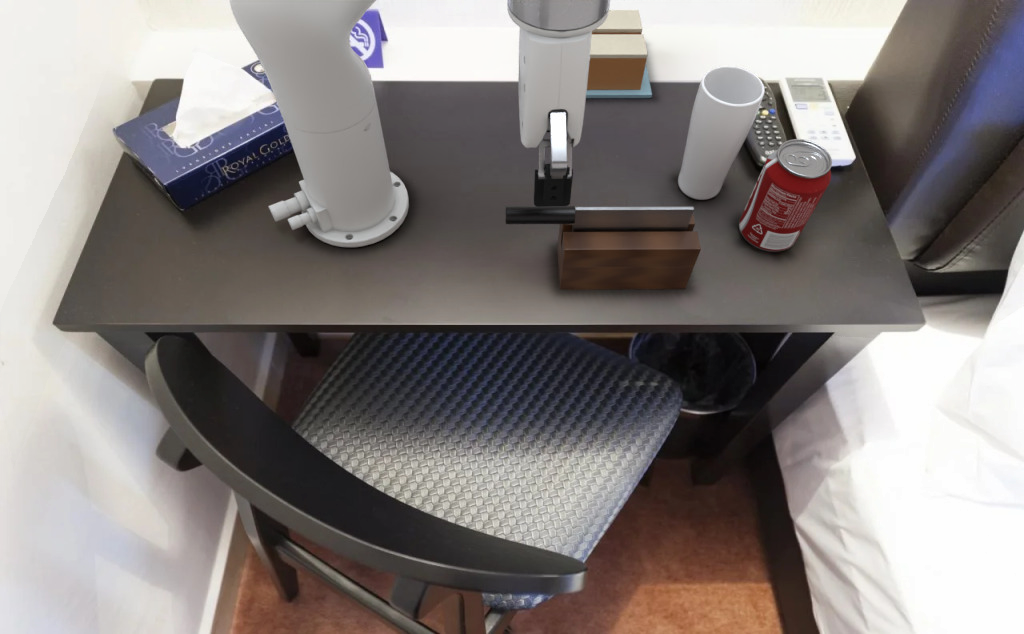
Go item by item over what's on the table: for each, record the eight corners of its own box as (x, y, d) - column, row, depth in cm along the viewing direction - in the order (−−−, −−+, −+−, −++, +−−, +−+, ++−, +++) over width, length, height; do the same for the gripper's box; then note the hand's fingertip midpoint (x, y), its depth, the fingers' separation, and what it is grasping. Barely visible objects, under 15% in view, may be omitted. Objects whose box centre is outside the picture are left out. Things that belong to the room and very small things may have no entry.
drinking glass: (668, 200, 81) (698, 100, 69) (673, 162, 85) (703, 60, 72) (724, 211, 80) (764, 110, 68) (727, 172, 84) (767, 70, 71)
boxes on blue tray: (564, 98, 91) (568, 59, 86) (559, 45, 98) (563, 5, 93) (651, 98, 92) (660, 59, 86) (640, 45, 98) (648, 5, 93)
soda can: (796, 260, 76) (840, 185, 66) (736, 250, 77) (771, 175, 67) (794, 216, 80) (836, 139, 70) (737, 207, 81) (771, 130, 71)
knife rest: (559, 289, 74) (564, 249, 68) (557, 249, 77) (561, 207, 71) (685, 289, 74) (701, 249, 68) (677, 248, 77) (691, 206, 71)
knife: (679, 239, 73) (692, 201, 68) (681, 252, 72) (695, 214, 67) (505, 240, 72) (505, 202, 67) (505, 253, 71) (505, 215, 66)
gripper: (505, -72, 53) (506, 105, 67) (509, 64, 43) (510, 237, 57) (599, -73, 53) (581, 104, 67) (625, 62, 43) (597, 235, 57)
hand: (548, 165), depth 62 cm, fingers open, 9 cm apart
